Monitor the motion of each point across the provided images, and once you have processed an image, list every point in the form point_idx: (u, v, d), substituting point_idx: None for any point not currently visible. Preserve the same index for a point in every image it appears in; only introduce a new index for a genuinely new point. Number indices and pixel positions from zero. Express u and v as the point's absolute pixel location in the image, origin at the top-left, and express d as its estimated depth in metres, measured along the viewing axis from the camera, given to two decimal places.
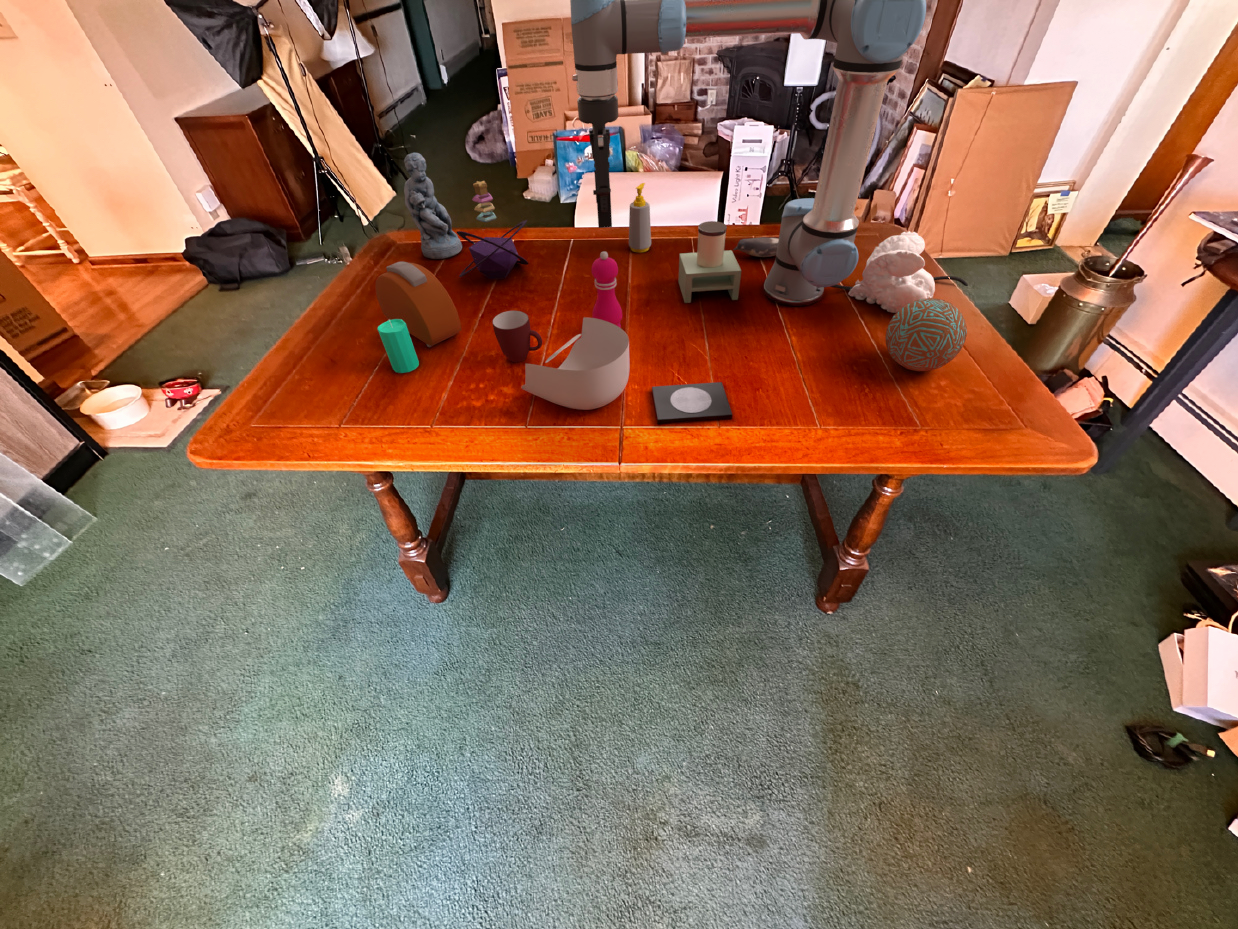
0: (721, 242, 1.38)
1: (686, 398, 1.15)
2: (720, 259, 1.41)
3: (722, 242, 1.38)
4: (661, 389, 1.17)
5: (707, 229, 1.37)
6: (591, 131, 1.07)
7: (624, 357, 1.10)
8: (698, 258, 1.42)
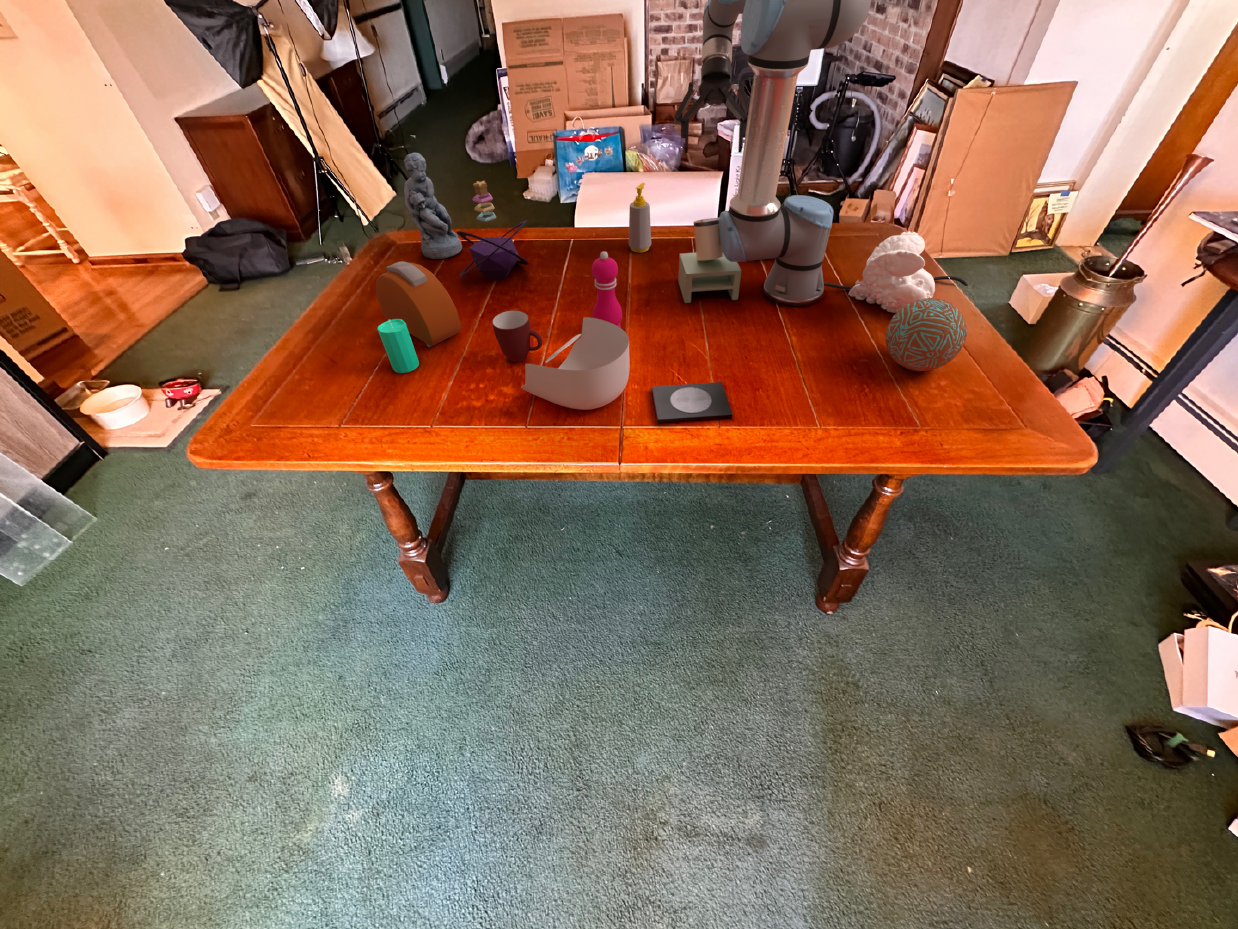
0: (717, 231, 1.38)
1: (686, 398, 1.15)
2: (719, 250, 1.40)
3: None
4: (661, 389, 1.17)
5: (702, 221, 1.38)
6: None
7: (624, 357, 1.10)
8: (697, 253, 1.42)
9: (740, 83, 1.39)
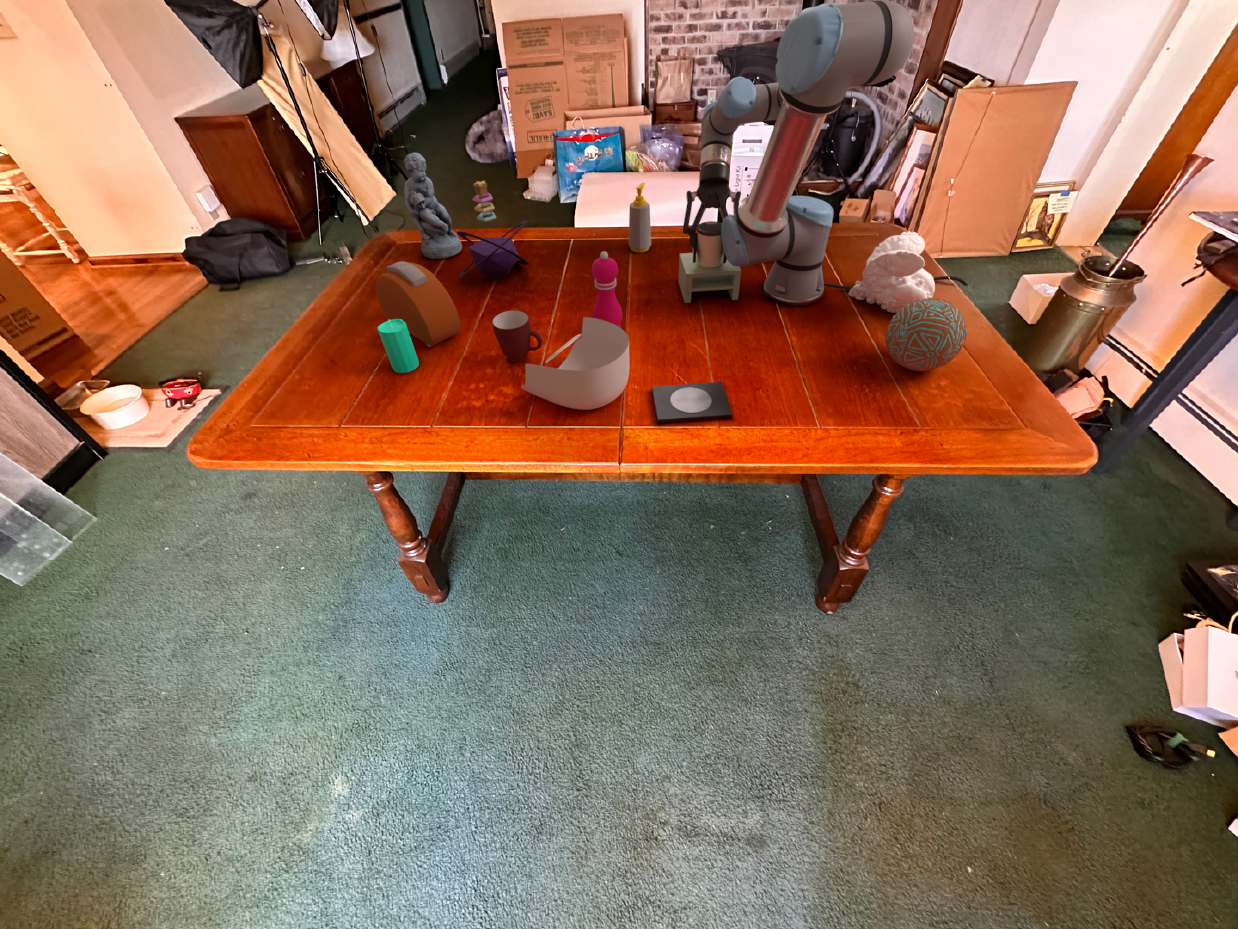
0: (720, 241, 1.37)
1: (686, 398, 1.15)
2: (719, 259, 1.41)
3: (721, 242, 1.38)
4: (661, 389, 1.17)
5: (706, 229, 1.36)
6: None
7: (624, 357, 1.10)
8: (697, 258, 1.42)
9: (737, 193, 1.38)
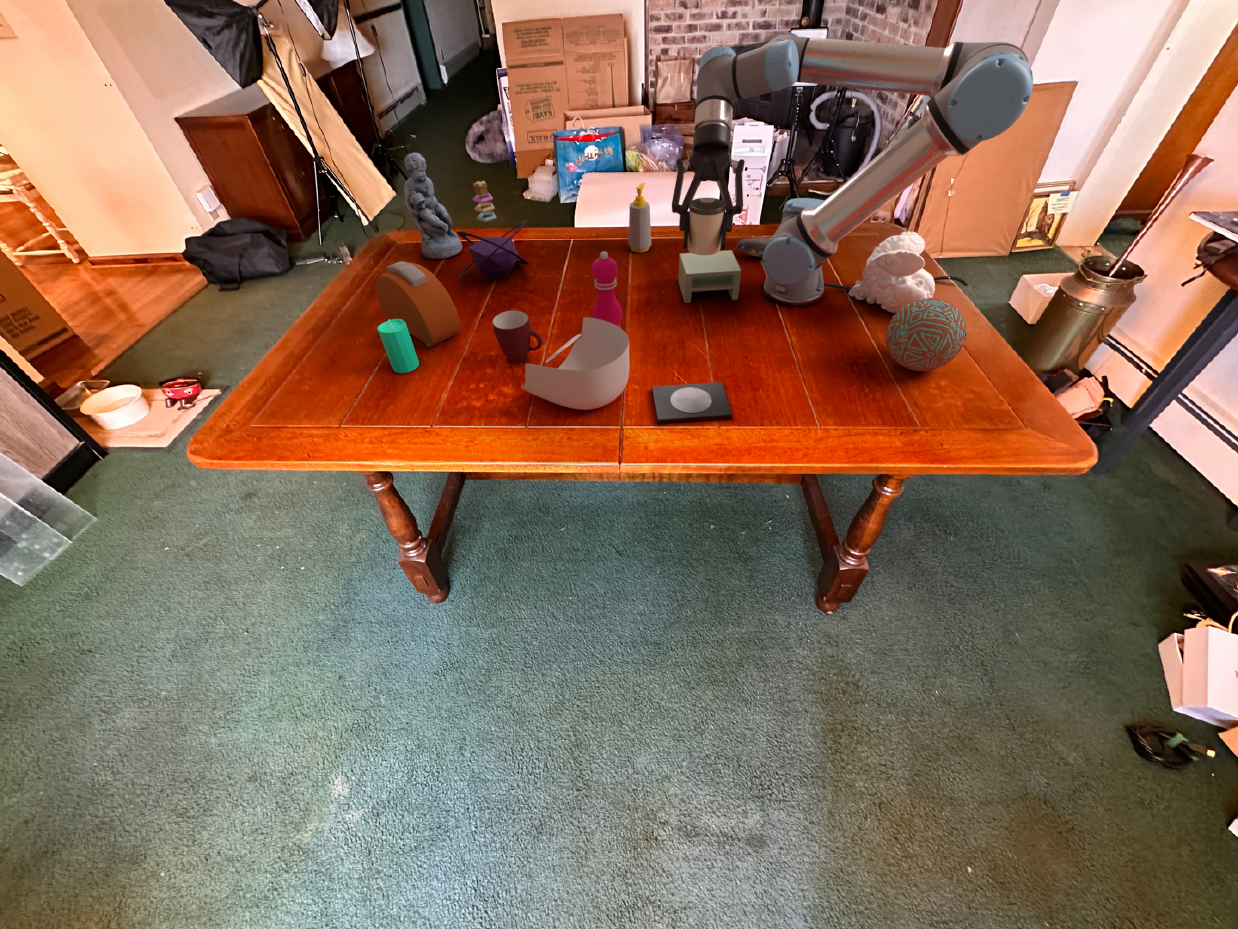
0: (717, 223, 1.10)
1: (686, 398, 1.15)
2: (716, 245, 1.13)
3: (719, 224, 1.10)
4: (661, 389, 1.17)
5: (700, 206, 1.09)
6: None
7: (624, 357, 1.10)
8: (689, 243, 1.14)
9: (740, 162, 1.10)
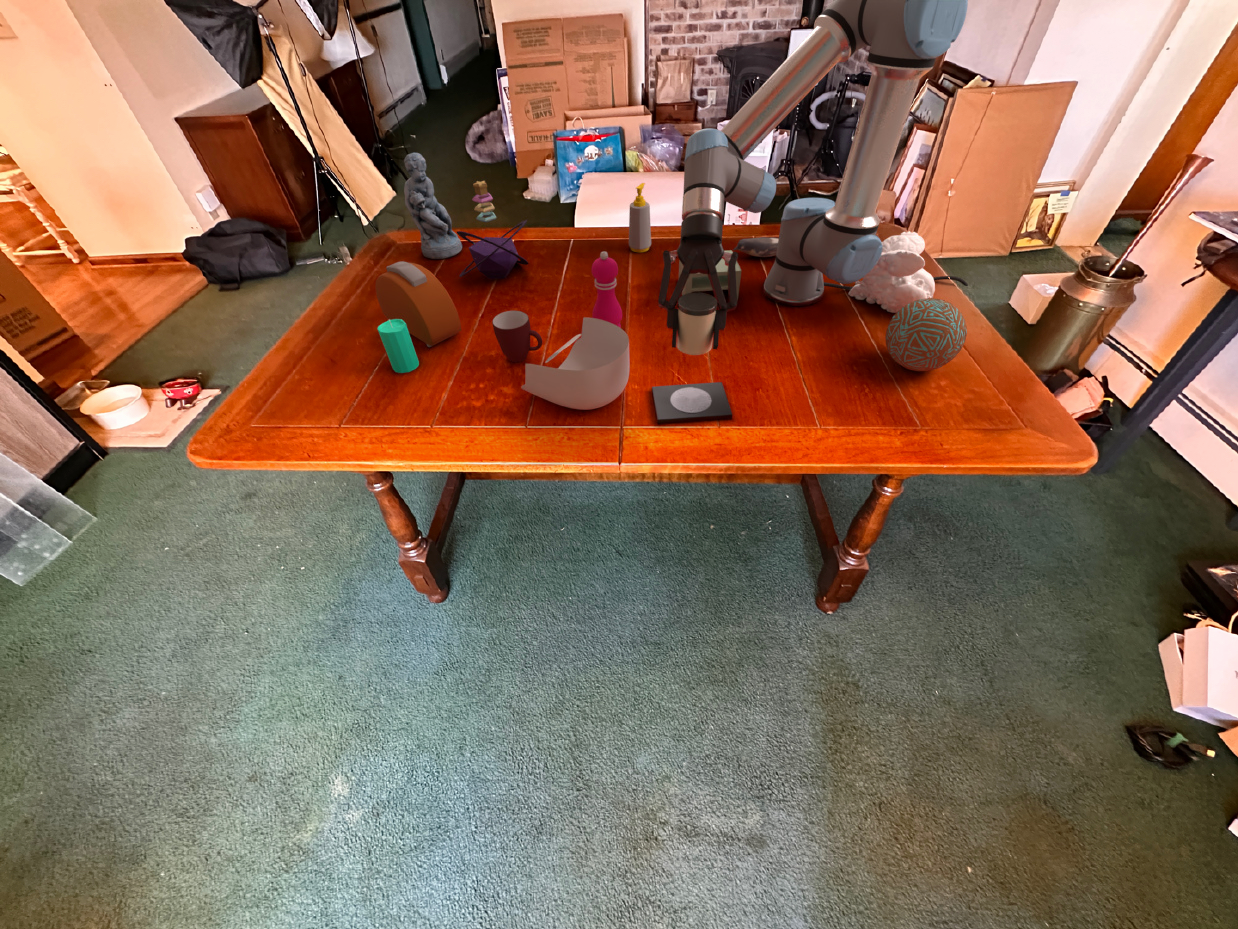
0: (709, 322, 0.99)
1: (686, 398, 1.15)
2: (708, 344, 1.02)
3: (711, 323, 0.99)
4: (661, 389, 1.17)
5: (690, 305, 0.98)
6: None
7: (624, 357, 1.10)
8: (678, 342, 1.03)
9: (733, 255, 1.00)
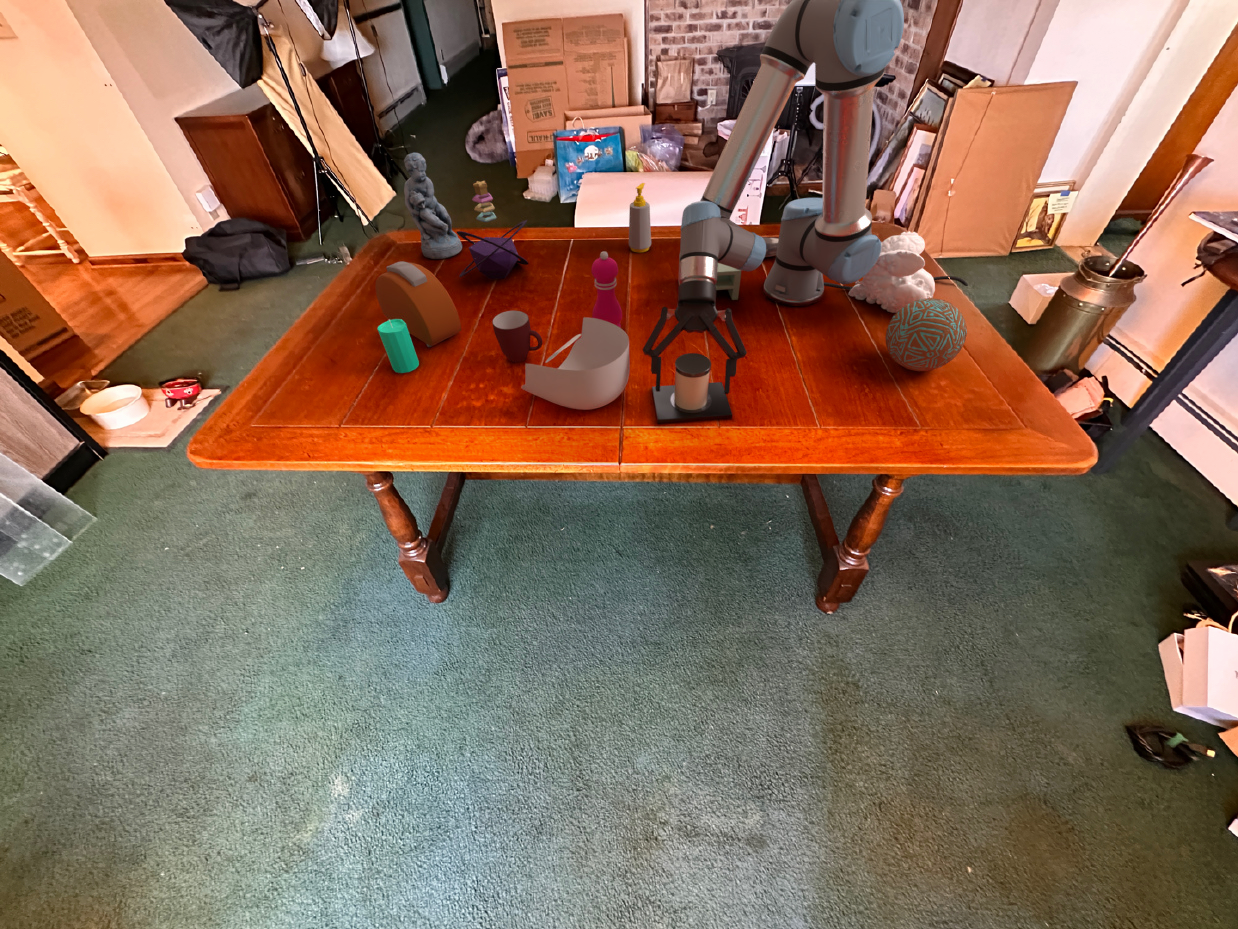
0: (703, 382, 1.08)
1: None
2: (703, 400, 1.11)
3: (705, 383, 1.08)
4: (661, 389, 1.17)
5: (686, 368, 1.07)
6: None
7: (624, 357, 1.10)
8: (675, 397, 1.12)
9: (727, 311, 1.08)
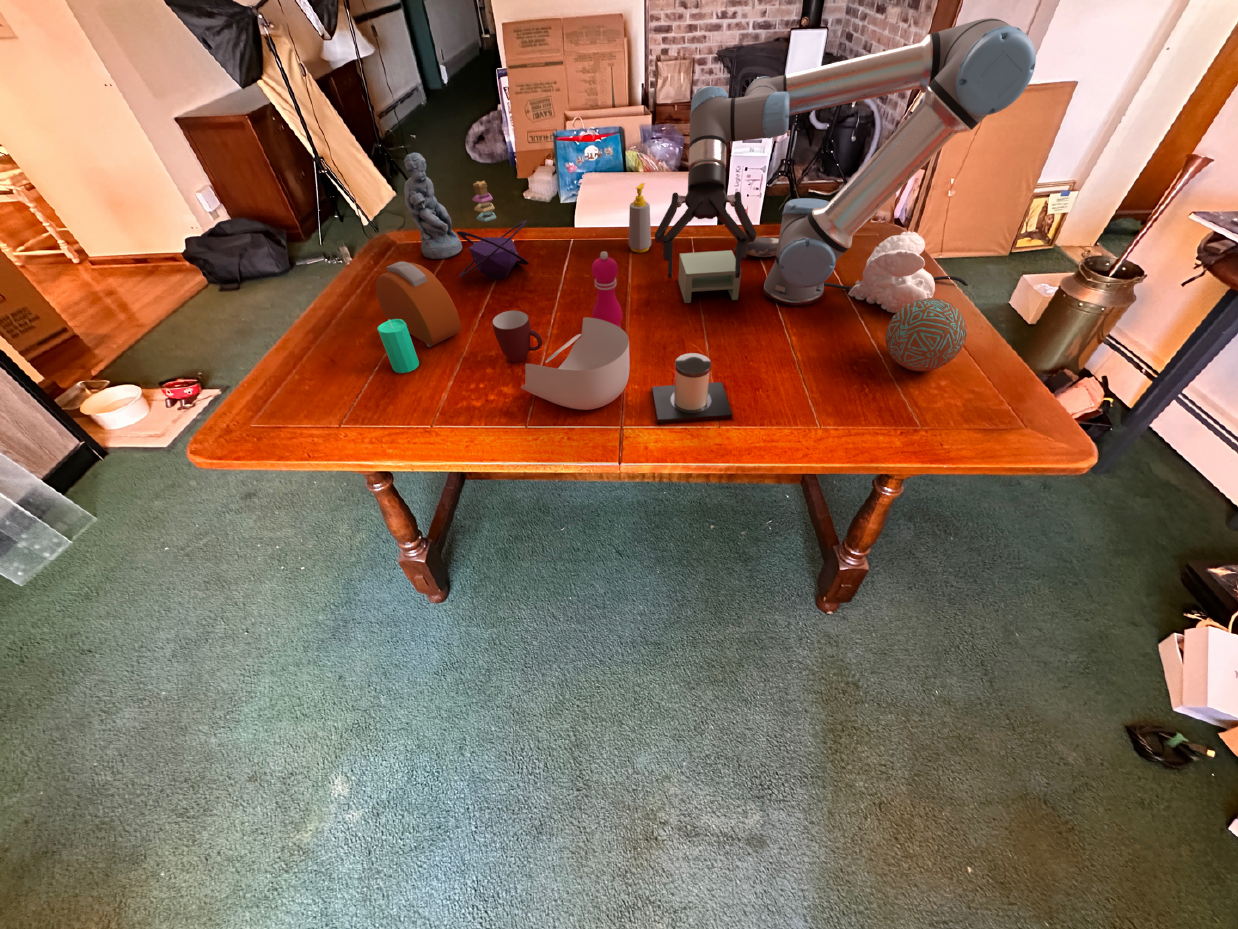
0: (703, 382, 1.08)
1: None
2: (703, 400, 1.11)
3: (705, 383, 1.08)
4: (661, 389, 1.17)
5: (686, 368, 1.07)
6: None
7: (624, 357, 1.10)
8: (675, 397, 1.12)
9: (737, 194, 1.11)
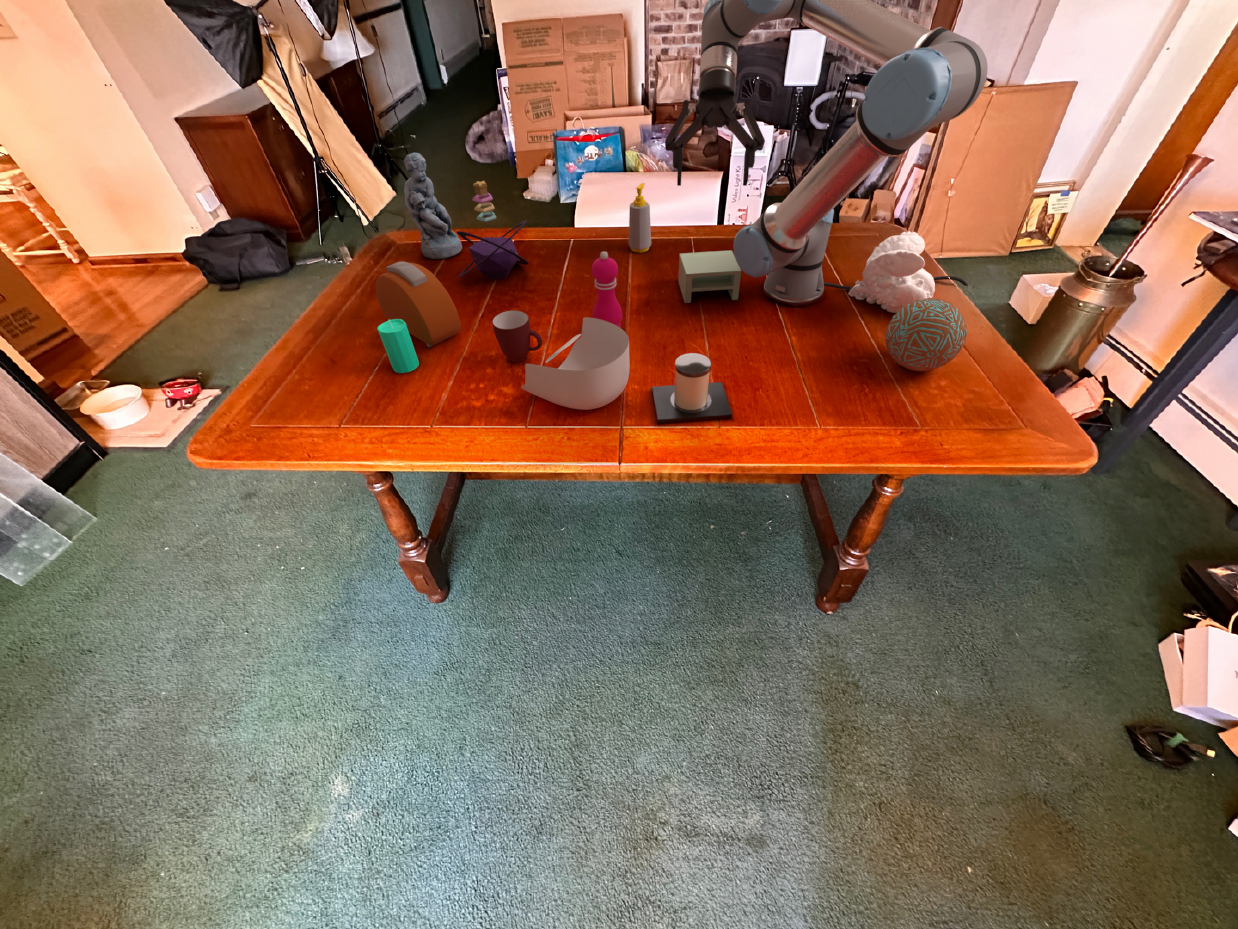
0: (703, 382, 1.08)
1: None
2: (703, 400, 1.11)
3: (705, 383, 1.08)
4: (661, 389, 1.17)
5: (686, 368, 1.07)
6: None
7: (624, 357, 1.10)
8: (675, 397, 1.12)
9: (746, 101, 1.13)
